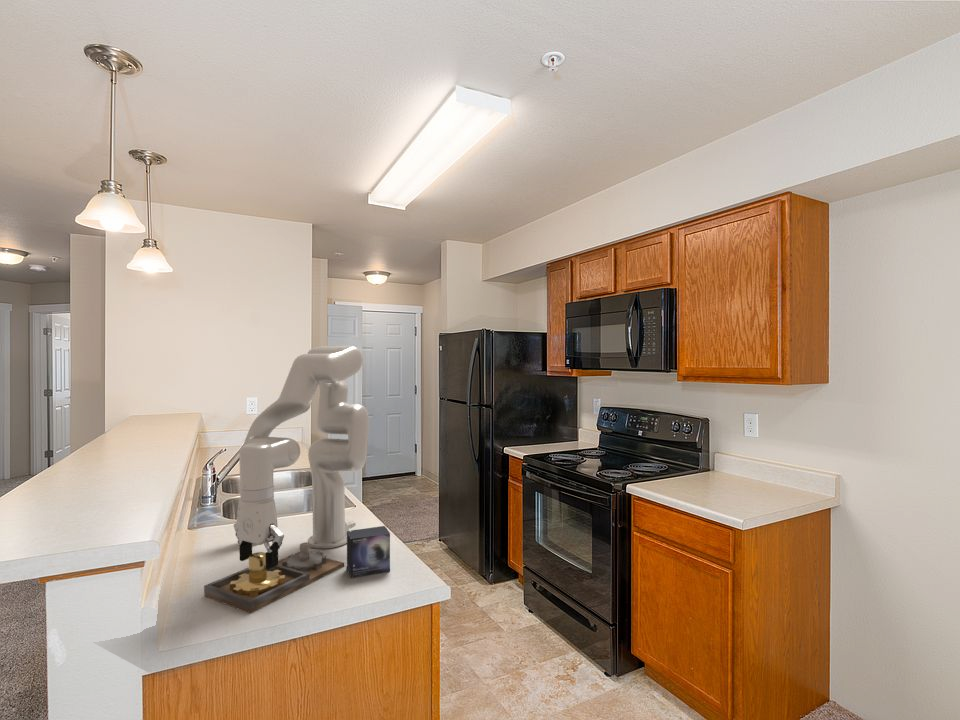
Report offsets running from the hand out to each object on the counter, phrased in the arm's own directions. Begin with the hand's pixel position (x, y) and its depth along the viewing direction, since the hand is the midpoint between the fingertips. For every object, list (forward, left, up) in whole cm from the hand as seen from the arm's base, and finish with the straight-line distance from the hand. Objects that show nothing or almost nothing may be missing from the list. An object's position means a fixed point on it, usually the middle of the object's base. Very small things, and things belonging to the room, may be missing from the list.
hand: (258, 562), depth 128 cm
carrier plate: (-6, 0, -7) cm, 9 cm away
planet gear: (0, 0, -6) cm, 6 cm away
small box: (-21, +16, -7) cm, 28 cm away
